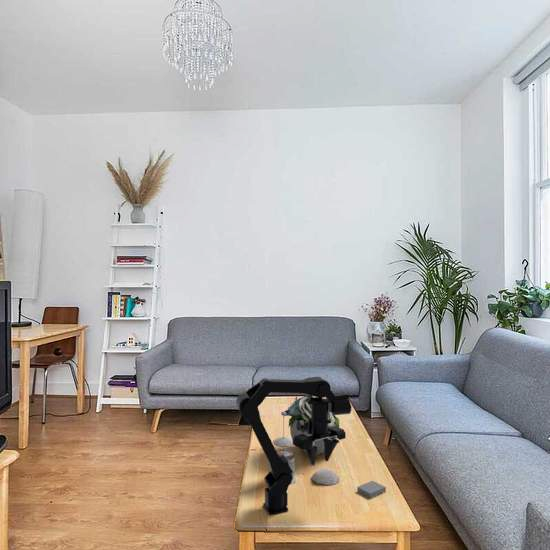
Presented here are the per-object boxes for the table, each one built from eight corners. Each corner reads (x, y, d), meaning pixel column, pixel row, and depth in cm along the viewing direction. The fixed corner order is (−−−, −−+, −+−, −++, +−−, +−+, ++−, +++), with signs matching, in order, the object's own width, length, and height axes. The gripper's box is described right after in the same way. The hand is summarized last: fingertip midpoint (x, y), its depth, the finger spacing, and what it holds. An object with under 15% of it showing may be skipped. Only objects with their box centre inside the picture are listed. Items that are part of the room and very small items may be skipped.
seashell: (305, 472, 156) (320, 458, 163) (307, 486, 156) (321, 471, 164) (328, 480, 149) (342, 465, 157) (330, 494, 150) (344, 478, 157)
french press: (295, 473, 162) (296, 407, 162) (297, 487, 150) (297, 417, 150) (270, 473, 162) (270, 407, 162) (270, 487, 150) (270, 417, 150)
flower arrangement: (309, 468, 166) (309, 406, 166) (274, 447, 186) (274, 392, 187) (355, 454, 179) (355, 397, 180) (318, 436, 200) (318, 385, 201)
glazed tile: (370, 493, 143) (385, 486, 148) (357, 486, 148) (372, 480, 152) (370, 499, 143) (385, 492, 148) (357, 492, 148) (372, 486, 152)
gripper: (325, 405, 152) (325, 449, 152) (283, 414, 142) (282, 461, 142) (346, 413, 143) (346, 459, 143) (303, 423, 133) (303, 473, 132)
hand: (319, 463), depth 140 cm, fingers open, 6 cm apart
